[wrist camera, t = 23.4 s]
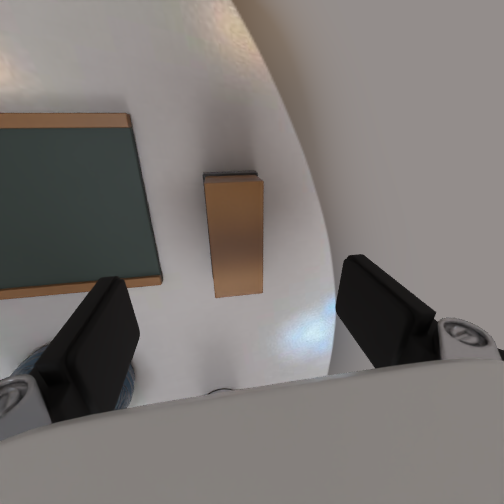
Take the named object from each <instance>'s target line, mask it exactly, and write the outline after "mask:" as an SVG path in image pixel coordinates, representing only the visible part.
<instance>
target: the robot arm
mask: <svg viewBox="0 0 504 504" xmlns="http://www.w3.org/2000/svg"><path fill="white" fill-rule="evenodd" d="M336 312H337V315H338V316H339V317H340V319H341V320H342V321H343V323H344V325H345V326H346V327H347V329H348V330H349V332H350V333H351V335H352V336H353V337H354V339H355V340H356V342H357V343H358V345H359V346H360V347H361V349H362V350H363V352H364V353H365V354H366V356H367V357H368V359H369V360H370V362H371V363H372V364H373V366H374V367H375V369H370V370H363V371H356V372H349V373H343V374H336V375H329V376H323V377H316V378H310V379H304V380H297V381H291V382H285V383H278V384H272V385H266V386H259V387H253V388H247V389H240V390H234V391H228V392H222V393H216V394H209V395H203V396H197V397H191V398H185V399H179V400H173V401H167V402H160V403H154V404H148V405H143V406H137V407H132V408H126V409H120V410H115V411H114V409H115V407H116V404H117V401H118V398H119V395H120V392H121V389H122V386H123V384H124V381H125V378H126V375H127V372H128V369H129V366H130V363H131V360H132V358H133V355H134V352H135V349H136V346H137V343H138V340H139V336H140V331H139V327H138V323H137V320H136V317H135V313H134V310H133V307H132V303H131V300H130V297H129V293H128V290H127V286H126V283H125V281H124V279H120V278H119V277H118V276H110V277H101V278H100V279H99V280H98V281H97V283H96V284H95V285H94V287H93V288H92V289H91V291H90V292H89V293H88V294H87V296H86V297H85V298H84V300H83V301H82V302H81V304H80V305H79V306H78V308H77V309H76V310H75V312H74V313H73V314H72V315H71V317H70V318H69V319H68V321H67V322H66V323H65V325H64V326H63V327H62V329H61V330H60V331H59V332H58V334H57V335H56V336H55V338H54V339H53V340H52V342H51V343H50V344H49V346H48V347H47V348H46V350H45V351H44V352H43V353H42V355H41V356H40V357H39V359H38V360H37V361H36V363H35V364H34V365H35V367H34V368H33V369H32V371H31V372H30V373H29V375H28V374H19V375H14V376H10V377H7V378H5V379H2V380H0V504H504V350H501V349H498V348H497V346H496V343H495V341H494V340H493V338H492V336H490V335H489V334H488V333H487V332H486V331H485V330H483V329H482V328H480V327H479V326H476V325H475V324H473V323H470V322H468V321H465V320H462V319H457V318H442V319H441V320H440V321H438V322H437V321H436V320H435V319H434V317H435V314H436V312H435V311H434V310H433V309H431V308H430V307H429V306H427V305H426V304H425V303H424V302H422V301H421V300H420V299H418V298H417V297H416V296H415V295H414V294H412V293H411V292H410V291H408V290H407V289H406V288H405V287H403V286H402V285H401V284H400V283H398V282H397V281H396V280H395V279H393V278H392V277H391V276H389V275H388V274H387V273H386V272H385V271H383V270H382V269H381V268H379V267H378V266H377V265H376V264H374V263H373V262H372V261H371V260H369V259H368V258H367V257H366V256H364V255H361V254H359V255H350V256H348V257H347V259H345V260H344V263H343V268H342V274H341V279H340V285H339V290H338V296H337V301H336Z"/></svg>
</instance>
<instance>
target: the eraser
mask: <svg viewBox="0 0 504 504" xmlns="http://www.w3.org/2000/svg"><path fill="white" fill-rule="evenodd" d="M203 182H204V192H205V202H206V213H207V223H208V233H209V243H210V254H211V264H212V274H213V279H214V290H215V298H220V297H230V296H240V295H249V294H259V293H263V194H264V182H263V180H261V179H260V178H259V177H258V173H257V172H256V171H237V172H207V173H203Z"/></svg>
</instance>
